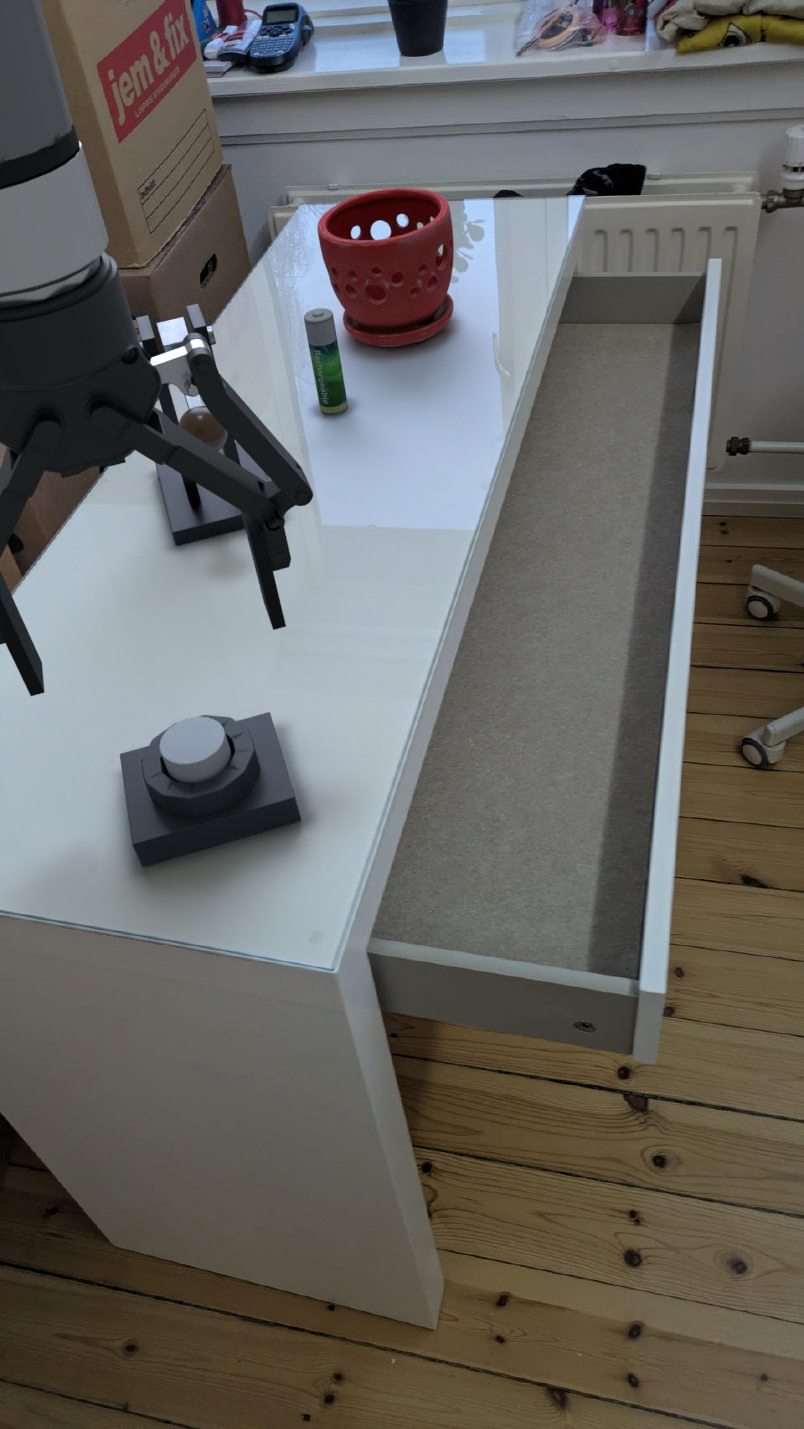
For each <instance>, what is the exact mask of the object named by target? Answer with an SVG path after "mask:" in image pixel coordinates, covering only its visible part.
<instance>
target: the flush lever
mask: <svg viewBox="0 0 804 1429" xmlns="http://www.w3.org/2000/svg"><path fill="white" fill-rule="evenodd" d="M156 329H157V331H158V336H159V339H160V343H161V347H162V349H163V353H166V352H169V351H172V350H174V349H177V348H180V347H182V342H183V339H184V338H185V336H186V335H188V334H190V333H189V329H188V326H187V323H186V320H185V318H184V316H181V317H177V318H173V319H169V320H164V321H160V322H156ZM183 395H184V394H183ZM184 399H185V402H186V406H187V409H188V410H186V411H185V412H184V413H183V414H182V416H181V417H180V419H179V420H178V421H179V425H178V426H179V427H181V428H182V429H184V430H185V431H187V432H188V433H190V434H192V435H193V436H195V437H196V438H198V439H199V440H201V441H203V442H204V443H206V444H207V445H209V446H210V447H212V448H213V449H215V450H217V451H219V450H220V449H221V448H222V447H223V446H224V444H225V442H226V439H227V433H228V432H227V431H226V430H225V429H224V427H223V426H222V425H221V424H220V423H219V422H218V421H217V420H216V419H215V418H214V417H213V415H212V414H211V413H210V412H209V410H208V409H207V407H206V406H205V405H204V403H203V401H202V399H201V396H200V394H199V395H197V396H196V397H191V396H187V395H184Z"/></svg>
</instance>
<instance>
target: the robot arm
mask: <svg viewBox="0 0 804 1429" xmlns="http://www.w3.org/2000/svg"><path fill="white" fill-rule="evenodd" d="M88 165H89V164H88V161H87V158H86V155H85V151H84V148H83V145H82V143H81V141H80V139H79V136H78V132H77V129H76V126H75V123H74V120H73V117H72V114H71V111H70V107H69V103H68V99H67V96H66V92H65V87H64V85H63V81H62V77H61V73H60V69H59V67H58V63H57V59H56V55H55V51H54V47H53V43H52V40H51V36H50V32H49V29H48V26H47V22H46V18H45V14H44V11H43V7H42V4H41V0H0V444H1V445H2V446H4V447H6V449H5V451H4V455H3V457H2V463H1V466H0V559H1V558H2V556H3V554H4V552H5V549H6V548H7V545H8V543H9V541H10V539H11V536H12V534H13V532H14V530H15V528H16V526H17V524H18V522H19V520H20V517H21V515H22V513H23V511H24V509H25V507H26V505H27V503H28V501H29V499H31V498H32V497H33V496H34V494H35V492H36V490H37V488H38V486H39V484H40V481H41V479H42V478H43V475H44V473H45V472H46V473H48V474H55V475H60V477H61V479H65V478H69V477H73V476H77V475H79V474H81V473H84V472H85V471H88V470H89V469H91V468H94V467H115V466H117V465H123V464H126V462H127V461H126V458H127V457H130V456H131V455H132V454H133V453H134V452H135V451H136V452H137V453H139V454H140V455H142V456H143V457H145V458H147V459H148V460H150V461H152V462H154V463H157V464H159V465H164V464H165V465H167V466H169V467H171V468H172V469H174V470H176V471H177V472H179V473H180V474H182V475H184V476H185V477H187V478H189V479H190V480H192V481H194V482H195V483H197V484H199V485H200V486H202V487H204V488H205V489H207V490H208V491H210V492H212V493H213V494H215V495H217V496H218V497H220V498H222V499H223V500H225V501H227V502H228V503H230V504H231V505H233V506H235V507H236V508H238V509H240V510H241V514H242V518H243V522H244V526H245V533H246V537H247V541H248V544H249V545H248V546H249V549H250V554H251V558H252V561H253V565H254V569H255V574H256V577H257V582H258V584H259V589H260V594H261V597H262V601H263V604H264V607H265V610H266V613H267V616H268V619H269V622H270V625H271V627H272V630H273V631H276V630H279V629H282V628H286V627H287V625H286V624H287V623H286V619H285V616H284V612H283V607H282V603H281V600H280V594H279V590H278V587H277V582H276V578H275V574H274V572H277V571H280V570H285V569H288V568H290V565H291V561H292V556H291V552H290V546H289V543H288V537H287V533H286V529H285V525H286V519H285V515H286V513H288V511H289V510H291V509H293V508H294V507H295V506H297V507H304V506H307V505H309V504H310V503H311V502H312V500H313V498H314V492H313V489H312V487H311V485H310V482H309V481H308V478H307V476H306V474H305V472H304V469H303V468H302V465H301V464H300V463H299V462H298V461H297V460H296V459H295V458H294V456H293V455H292V454H291V453H290V452H289V451H288V450H287V448H285V447H284V445H283V443H281V442H280V441H279V439H277V437H276V436H275V435H274V434H273V432H272V431H270V429H269V428H268V427H267V426H266V425H265V424H264V423H263V421H262V420H261V419H260V418H259V416H257V414H256V413H255V412H254V411H253V410H252V409H251V408H250V407H249V405H248V404H247V403H246V402H245V401H244V400H243V398H241V396H240V395H239V394H238V393H237V391H235V389H233V387H232V386H231V385H230V384H229V383H228V382H227V380H226V379H225V378H224V377H223V376H222V374H221V373H220V372H219V369H218V367H217V363H216V364H215V362H216V360H215V361H214V359H213V356H212V353H211V351H210V348H209V346H208V343H207V341H206V339H205V337H204V336H202V335H201V334H199V333H192V332H190V333H189V334H188V335H186V336H185V338H184V339H183V342H182V347H180V348H177V349H174V350H172V351H169V352H166V353H164V352H163V353H159V354H160V355H158V356H155V357H152V358H151V357H150V356H149V355H148V354H147V353H146V352H145V350H144V349H143V348H142V346H141V345H140V343H139V342H140V340H139V337H138V333H137V330H136V326H135V322H134V320H133V316H132V313H131V310H130V306H129V302H128V300H127V296H126V292H125V289H124V285H123V281H122V278H121V276H120V271H119V268H118V265H117V262H116V260H115V259H114V258H113V257H112V256H110V255H109V254H108V253H106V252H105V251H106V249H107V247H108V244H109V242H110V239H109V235H108V232H107V227H106V224H105V222H104V218H103V214H102V211H101V206H100V203H99V200H98V197H97V196H98V195H97V193H96V190H95V186H94V182H93V178H92V175H91V172H90V169H89V166H88ZM166 383H168V385H169V384H171V385H173V386H175V387H176V388H177V389H178V390H179V391H180V393H181V394H183V395H187V396H191V397H196V396H197V395H199V394H200V397H201V401H202V404H203V405H204V406H206V407H207V409H208V410H209V412H210V413H211V414H212V415H213V417H214V418H215V419H216V420H217V421H218V422H219V423H220V424H221V425H222V426H223V427H224V429H225V430H226V431H227V432H228V433H229V434H230V435H231V436H232V437H233V438H234V439H235V442H237V443H238V444H239V445H240V446H241V447H242V448H243V449H244V450H245V451H246V453H247V454H248V455H249V456H250V457H251V458H252V459H253V460H254V461H255V462H256V464H257V465H258V466H259V467H260V468H261V469H262V470H263V471H264V472H265V473H266V475H267V478H268V479H270V480H269V482H265V481H264V480H262V479H260V478H259V477H257V476H256V475H254V474H253V473H251V472H249V471H248V470H246V469H245V468H243V467H242V466H240V465H238V464H237V463H235V462H234V461H232V460H231V459H229V458H228V457H226V456H224V455H223V454H221V453H220V452H218V451H217V450H215V449H213V448H212V447H210V446H209V445H207V444H206V443H204V442H203V441H201V440H199V439H198V438H196V437H195V436H193V435H192V434H190V433H188V432H187V431H185V430H184V429H182V428H181V427H179V426H177V425H176V424H174V423H173V422H172V421H171V420H170V419H169V418H168V416H166V415H165V414H164V413H163V412H162V410H160V409H159V408H157V407H155V406H156V403H157V402H158V400H159V398H158V397H159V394H160V391H161V386H162V384H166ZM4 644H5V645H6V648H7V650H8V652H9V654H10V656H11V658H12V660H13V662H14V664H15V667H16V668H17V671H18V673H19V674H20V677H21V678H22V681H23V683H24V685H25V688H26V690H27V691H28V694H29V696H30V697H33V696H38V695H41V694H44V693H45V681H44V668H43V661H42V659H41V657H40V655H39V652H38V650H37V647H36V646H35V644H34V642H33V639H32V637H31V635H30V632H29V630H28V628H27V626H26V624H25V621H24V619H23V617H22V614H21V613H20V611H19V608H18V606H17V604H16V602H15V600H14V598H13V595H12V593H11V591H10V588H9V586H8V584H7V582H6V580H5V577H4V576H3V573H2V571H1V570H0V645H4Z"/></svg>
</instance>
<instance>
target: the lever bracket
mask: <svg viewBox="0 0 804 1429" xmlns="http://www.w3.org/2000/svg"><path fill="white" fill-rule="evenodd" d="M185 309H186V313H187V317H188V321H189V325H190V330H191V333H199V334H201V335H202V336H204V337H205V339H206V341H207V343H208V346H209V348H210V351H211V353H212V356H213V359H214V361H215V364H216V365H217V363H216V358H215V354H214V350H213V347H212V346H213V345H217V340H216V336H215V332H214V328H213V326H212V325H208V326H207V324H206V321H205V318H204V316H203V313H202V310H201V307H200V305H199V303H195V304H190V305H186V306H185ZM135 320H136V325H137V328H138V331H139V336H140V340H141V341H139V343H140V345H141V346H142V348H143V349H144V350H145V352H146V353H147V354H148V355H149V356H150V357H151V358H152V357H155V356H158V355H160V354H161V353H160V352H159V347H158V344H157V341H156V338H155V337H156V336H155V334H154V330H153V327H152V323H151V320H150V316H149V314H146V315H143V316H137V317H136V318H135ZM158 401H159V404H160V405H159V406H160V407H161V412H163V413H164V414H165V415H166V416H168V418H169V419H170V420H171V421H172V422H173V423H174V424H176V425H177V426H178V425H179V421H180V420H179V418H178V414H177V411H176V408H175V404H174V401H173V396H172V394H171V389H170V386H169V383H166V384H162V386H161V391H160V394H159V397H158ZM218 452H220V453H221V454H223V455H224V456H226V457H228V458H229V459H231V460H232V461H234V462H235V463H237V464H238V465H240V466H242V467H243V468H245V469H246V470H248V471H249V472H251V473H253V474H254V475H256V476H257V477H259V478H260V479H262V480H264V481H265V482H269V481H270V480H269V477H268V476H267V474H266V473H265V472H264V471H263V470H262V469H261V468H260V467H259V466H258V465H257V464H256V462H255V461H254V460H253V459H252V458H251V457H250V456H249V455H248V454H247V453H246V451H245V450H244V449H243V448H242V447H241V446H240V445H239V444H238V443H237V442H236V441H235V439H234V438H233V437H232V436H231V435H230V434H229V433H227V439H226V442H225V444H224V446H223V447H222V448H221V449H220V450H219V451H218ZM154 463H155V462H154ZM155 468H156V472H157V475H158V481H159V485H160V490H161V493H162V497H163V498H162V499H163V501H164V506H165V509H166V514H167V517H168V522H169V526H170V531H171V534H172V537H173V541H174V544H175V545H176V546H178V545H183V544H187V543H190V542H195V541H198V540H203V539H206V538H210V537H213V536H218V535H221V534H225V533H229V532H233V531H237V530H240V529H244V528H245V526H244V522H243V518H242V514H241V510H240V509H238V508H236V507H235V506H233V505H231V504H230V503H228V502H227V501H225V500H223V499H222V498H220V497H218V496H217V495H215V494H213V493H212V492H210V491H208V490H207V489H205V488H204V487H202V486H200V485H199V484H197V483H195V482H194V481H192V480H190V479H189V478H187V477H185V476H184V475H182V474H180V473H179V472H177V471H176V470H174V469H172V468H171V467H169V466H167V465H165V464H164V465H159V464H157V463H155Z"/></svg>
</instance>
